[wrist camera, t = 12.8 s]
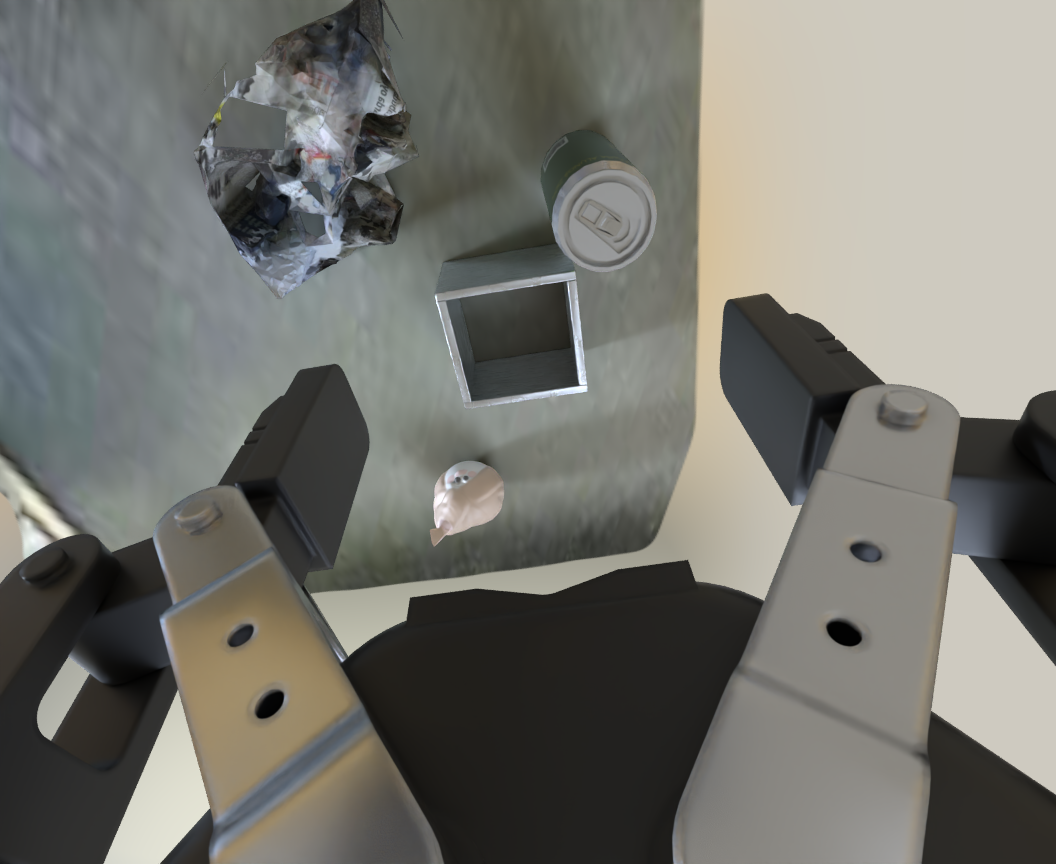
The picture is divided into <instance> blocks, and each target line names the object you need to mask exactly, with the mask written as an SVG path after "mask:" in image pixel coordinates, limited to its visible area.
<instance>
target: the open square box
mask: <svg viewBox="0 0 1056 864" xmlns="http://www.w3.org/2000/svg"><path fill="white" fill-rule="evenodd" d="M557 282H563V285H564V294H565V302H566V311H567V319H568V328H569V336H570V345H571V348H567V349H560V350H554V351H547V352H541V353H534V354H527V355H521V356H514V357H508V358H501V359H495V360H488V361H482V362H475V360H474V356H473V352H472V348H471V343H470V339H469V335H468V331H467V327H466V323H465V319H464V314H463V310H462V306H461V302H460V298H463V297H470V296H476V295H482V294H488V293H494V292H501V291H507V290H513V289H519V288H525V287H532V286H538V285H544V284H550V283H557ZM435 297H436V301H437V305H438V309H439V312H440V316H441V320H442V324H443V327H444V331H445V335H446V338H447V342H448V346H449V350H450V353H451V357H452V361H453V364H454V368H455V372H456V376H457V379H458V383H459V387H460V390H461V394H462V398H463V402H464V405H465V409H471V408H478V407H485V406H491V405H498V404H505V403H512V402H518V401H525V400H532V399H539V398H545V397H552V396H559V395H566V394H572V393H579V392H586V391H588V389H587V379H586V369H585V359H584V349H583V339H582V330H581V320H580V310H579V300H578V290H577V280H576V271H575V268H574V265H573V261H572V260H571V259H569V258H568V257H567V256H566V255H564V253H563V252H562V250H561V248H560V247H559V245H558V244H557V243H556V244H550V245H544V246H538V247H532V248H526V249H520V250H514V251H508V252H502V253H496V254H490V255H484V256H478V257H472V258H466V259H460V260H454V261H448V262H443V264H442V268H441V272H440V276H439V279H438V283H437V287H436V291H435Z"/></svg>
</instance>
